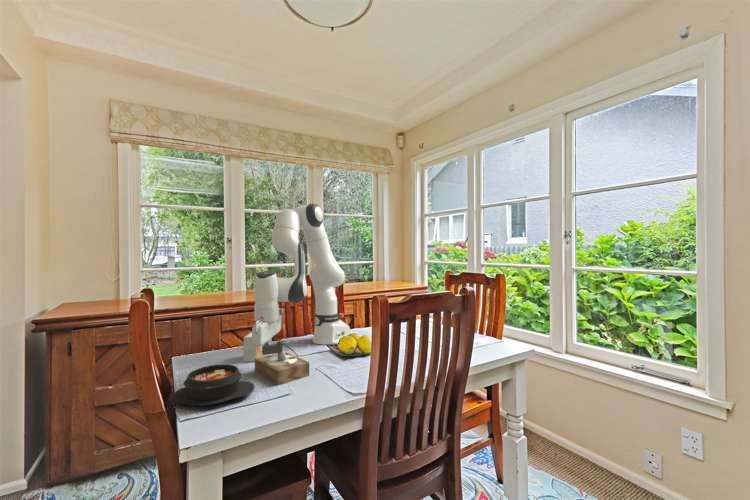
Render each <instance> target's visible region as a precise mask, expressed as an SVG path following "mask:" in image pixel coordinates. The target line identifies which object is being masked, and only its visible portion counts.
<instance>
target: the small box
mask: <svg viewBox="0 0 750 500" xmlns="http://www.w3.org/2000/svg"><path fill="white" fill-rule="evenodd" d="M261 357H264V355H263V354H262V346H253V345H252V332H250V333H248V334H247V335H245V336H243V362H255V359H257V358H261Z"/></svg>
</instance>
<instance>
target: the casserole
mask: <svg viewBox="0 0 750 500" xmlns="http://www.w3.org/2000/svg"><path fill="white" fill-rule="evenodd" d="M241 378H242V372H241V371H240V370H239V368H238V366H236V365H232V364H212V365H208V366H204V367H203V366H202V367H200V368H197V369H194V370H192V371H191V372H189V373H188V374H187V376H186V379H185V380H184V382H183V386H184V387H181V388H180V389H179V388H178V390H176V391H175V392H173V393H172V394H171V395H170V397H169V399H168V401H169V402H170V404H173V405H189V406H199V407H202V406H212V405H218V404H221V403H224V402H228V401H231V400H235V399H239V398H243V397H246V396H248V395H250V394H251V393H253V391H254V389H255V384H254V383H253V382H252V381H248V380H240V379H241Z"/></svg>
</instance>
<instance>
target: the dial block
mask: <svg viewBox="0 0 750 500" xmlns="http://www.w3.org/2000/svg"><path fill="white" fill-rule="evenodd" d="M292 356H295V355H294V354H292V353H291V354H290V353H289V352H287V351H285V357H292ZM254 373H256V374H258V375H259V376H261V377H263V378H264V379H267V380H268V381H269V382H272V383H273V384H275V385H276V386H280V385H284V384H287V383H291V382H293V381H296V380H300V379H302V378H306V377H309V376H310V362H309V361H307V360H305V359H304V358H303V359H302V358H300V357H299V356H298V357H294V358H287V359H285V360H284V361H278V353H274V354H268V355H264V356H262V357H261V358H257V359H255V361H254Z"/></svg>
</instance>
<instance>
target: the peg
mask: <svg viewBox="0 0 750 500" xmlns="http://www.w3.org/2000/svg"><path fill="white" fill-rule="evenodd" d="M286 344H287V340H282V339H281V340H277V341H276V343H273V344H272V343H271V344H270V345H262V354H263V356H268V355H273V354H277V353H278V361H284V360H285V359H287V358H294V357H298V358H299V355H294V356H292V357H285V352H286V350H283V346H284V345H286Z"/></svg>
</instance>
